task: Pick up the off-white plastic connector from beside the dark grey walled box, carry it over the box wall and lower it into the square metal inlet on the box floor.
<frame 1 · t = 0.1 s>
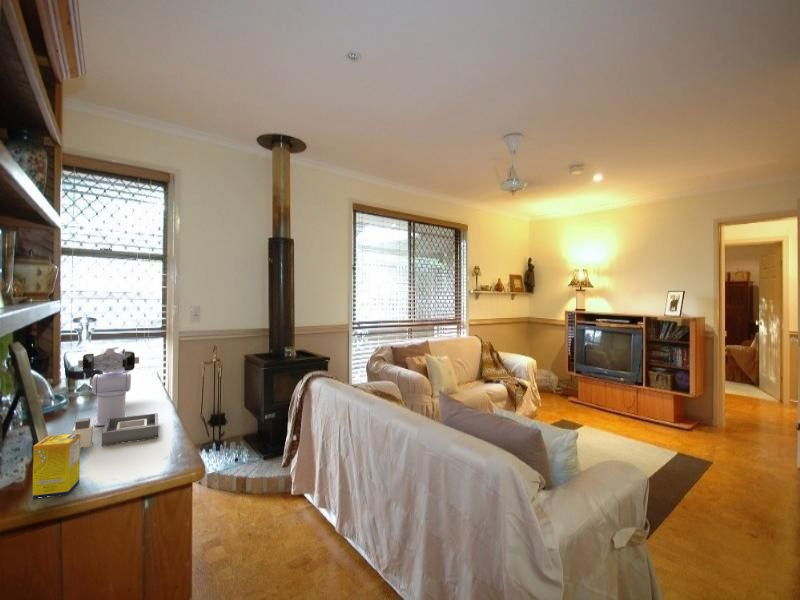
hand: (107, 364, 109), 22 cm above the sideboard top, tool horizontal, fingers open, 7 cm apart
connector: (82, 445, 105), on the sideboard top
supplement box: (56, 491, 81), on the sideboard top
walled box: (131, 433, 115), on the sideboard top
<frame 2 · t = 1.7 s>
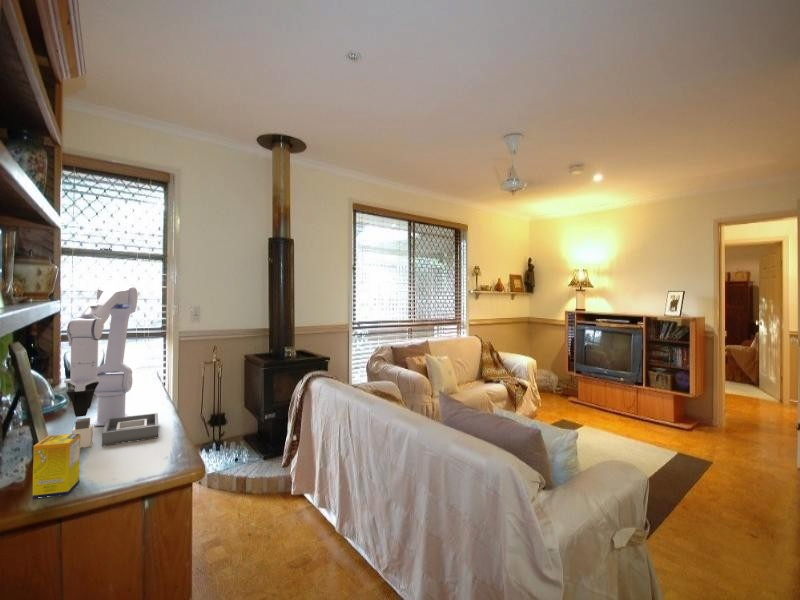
hand: (83, 412, 105), 9 cm above the sideboard top, tool pointing down, fingers open, 7 cm apart
nothing on the sideboard top moved.
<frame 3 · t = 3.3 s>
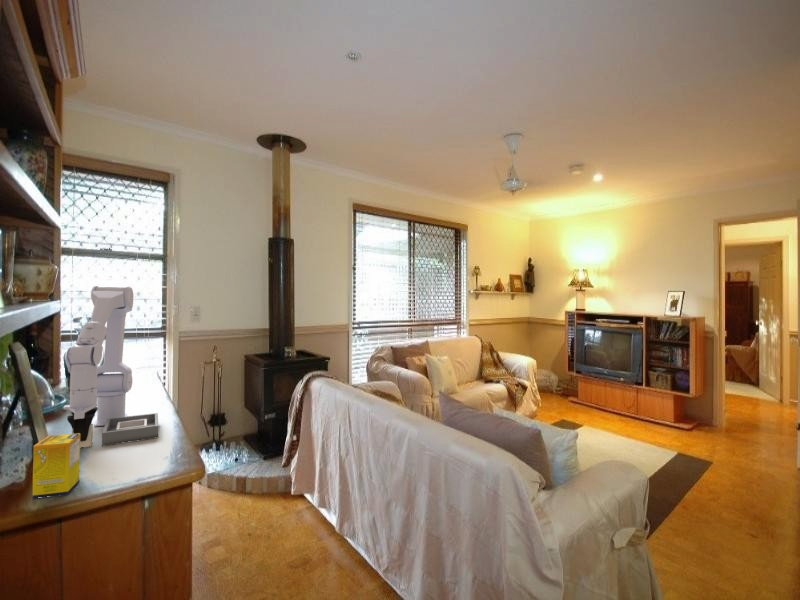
hand: (82, 438, 105), 2 cm above the sideboard top, tool pointing down, fingers closed on connector, 4 cm apart
connector: (82, 445, 105), on the sideboard top, touching gripper
everything else where it was.
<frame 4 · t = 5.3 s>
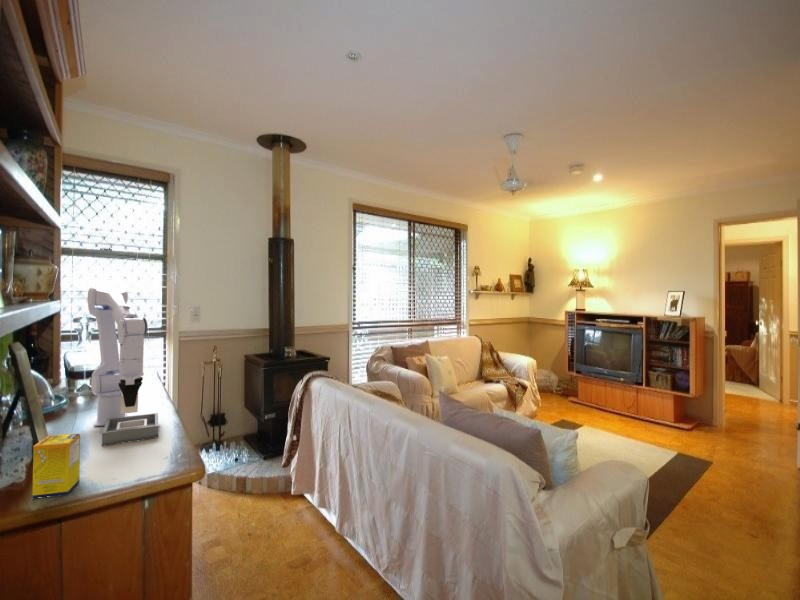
hand: (130, 404, 114), 9 cm above the sideboard top, tool pointing down, fingers closed on connector, 4 cm apart
connector: (129, 411, 114), point 7 cm above the sideboard top, touching gripper
everything else where it was.
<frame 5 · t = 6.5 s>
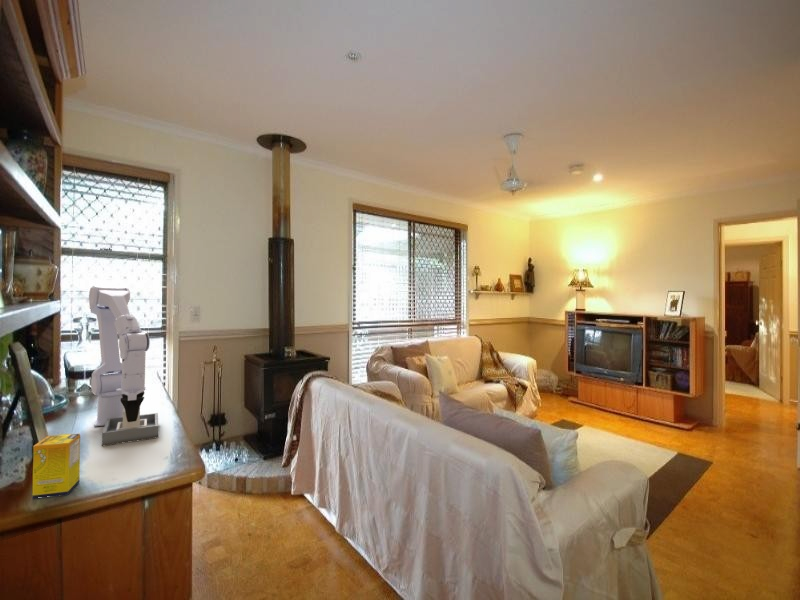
hand: (132, 419, 114), 4 cm above the sideboard top, tool pointing down, fingers closed on connector, 4 cm apart
connector: (131, 425, 114), point 2 cm above the sideboard top, touching gripper
everything else where it was.
when the fingers open (4 cm above the sideboard top, at t = 7.3 s): connector drops 1 cm, resting on walled box.
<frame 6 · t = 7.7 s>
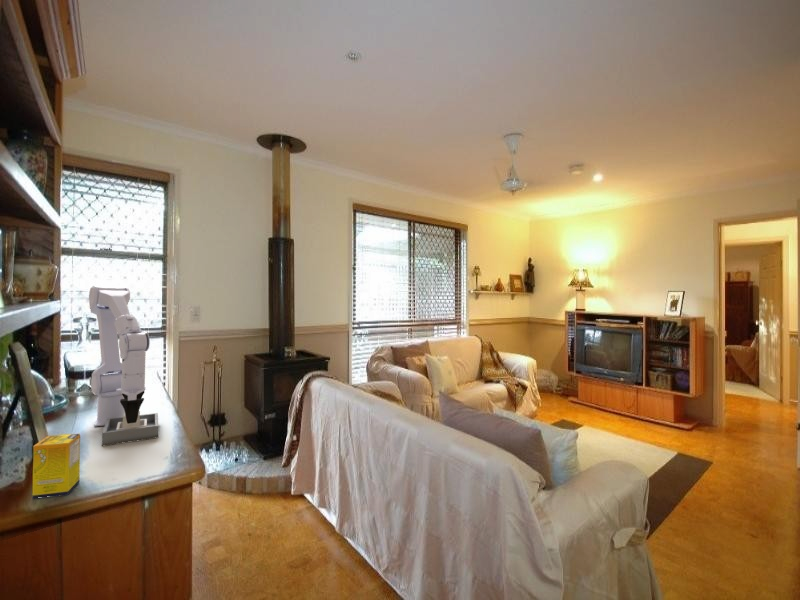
hand: (132, 419, 114), 4 cm above the sideboard top, tool pointing down, fingers open, 7 cm apart
connector: (131, 430, 114), point 1 cm above the sideboard top, touching walled box
everything else where it was.
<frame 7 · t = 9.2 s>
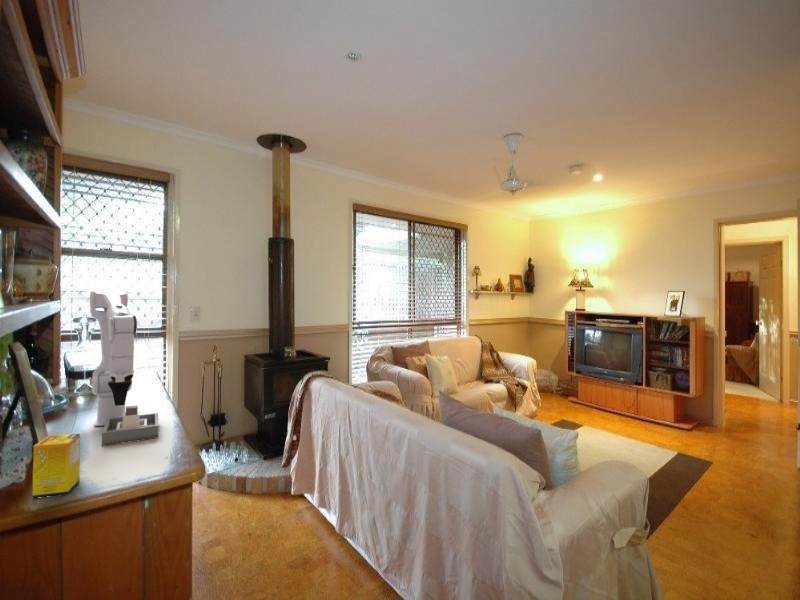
hand: (120, 401, 115), 9 cm above the sideboard top, tool pointing down, fingers open, 7 cm apart
nothing on the sideboard top moved.
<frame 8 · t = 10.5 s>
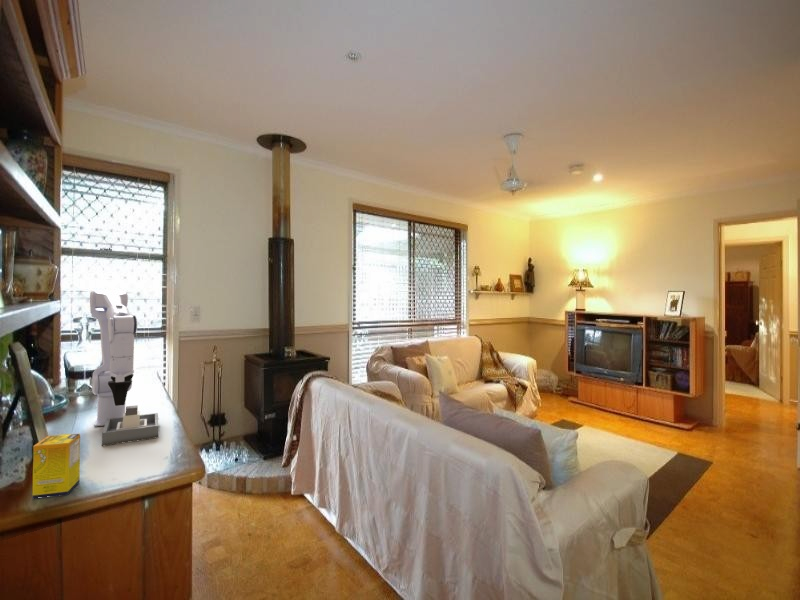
hand: (120, 401, 115), 9 cm above the sideboard top, tool pointing down, fingers open, 7 cm apart
nothing on the sideboard top moved.
at the end: connector 0.2 cm off-centre on the walled box, point 1.0 cm above the walled box's base; connector tilted 0°; the gripper is holding nothing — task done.
